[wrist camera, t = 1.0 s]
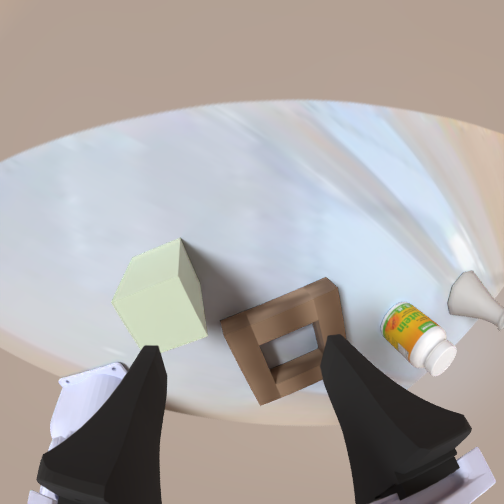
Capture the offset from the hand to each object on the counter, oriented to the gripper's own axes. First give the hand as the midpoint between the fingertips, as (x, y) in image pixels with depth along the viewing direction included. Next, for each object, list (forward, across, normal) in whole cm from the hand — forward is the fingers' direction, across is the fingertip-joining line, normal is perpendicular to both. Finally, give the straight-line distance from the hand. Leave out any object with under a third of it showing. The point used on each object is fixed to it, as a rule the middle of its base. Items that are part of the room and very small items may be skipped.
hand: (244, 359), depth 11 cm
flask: (+16, -35, +11) cm, 40 cm away
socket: (+13, -6, +12) cm, 18 cm away
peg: (+13, +6, +3) cm, 14 cm away
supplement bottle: (+15, -20, +12) cm, 28 cm away
